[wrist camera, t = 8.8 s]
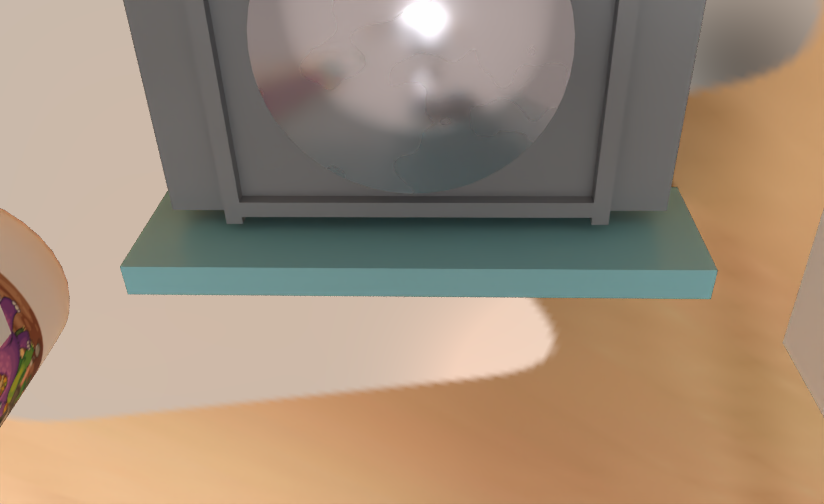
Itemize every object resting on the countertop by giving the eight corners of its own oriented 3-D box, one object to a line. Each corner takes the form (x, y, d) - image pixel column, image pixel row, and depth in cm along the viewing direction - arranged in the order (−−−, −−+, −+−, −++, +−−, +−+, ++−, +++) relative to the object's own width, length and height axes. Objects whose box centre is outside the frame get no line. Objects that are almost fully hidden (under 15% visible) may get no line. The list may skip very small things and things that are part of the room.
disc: (586, -139, 17) (595, -127, 16) (551, 169, 22) (557, 197, 21) (242, -140, 18) (224, -129, 17) (278, 162, 23) (266, 189, 21)
